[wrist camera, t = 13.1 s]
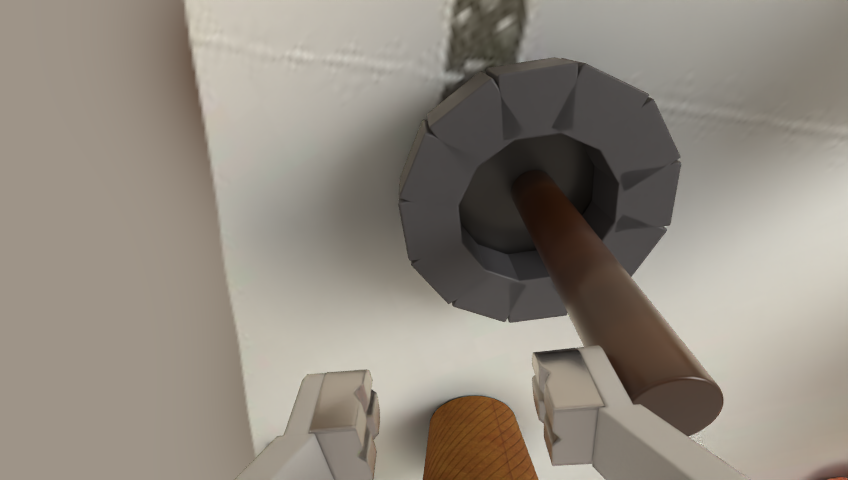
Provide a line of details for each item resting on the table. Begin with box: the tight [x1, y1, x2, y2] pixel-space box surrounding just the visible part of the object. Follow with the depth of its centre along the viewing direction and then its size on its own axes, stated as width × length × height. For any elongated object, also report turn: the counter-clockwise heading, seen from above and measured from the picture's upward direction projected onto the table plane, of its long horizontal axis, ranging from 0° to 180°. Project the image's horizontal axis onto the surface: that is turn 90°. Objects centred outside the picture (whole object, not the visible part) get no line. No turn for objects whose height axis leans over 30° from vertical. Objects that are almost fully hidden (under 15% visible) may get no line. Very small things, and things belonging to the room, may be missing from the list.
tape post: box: [459, 134, 723, 436], centre depth 14 cm, size 8×8×14 cm
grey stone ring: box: [398, 57, 681, 323], centre depth 17 cm, size 11×11×2 cm
